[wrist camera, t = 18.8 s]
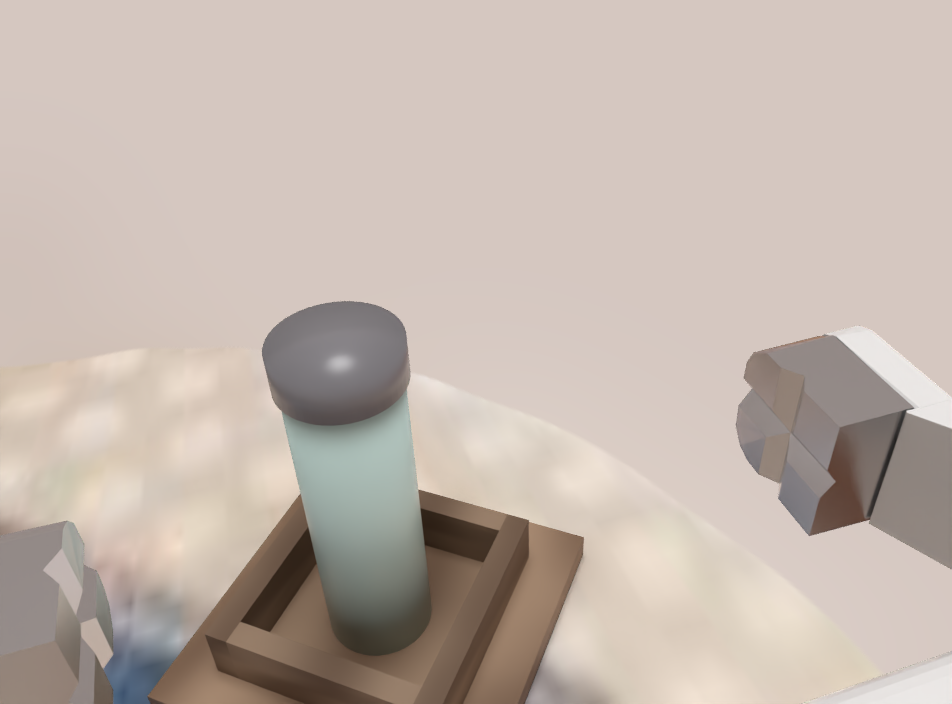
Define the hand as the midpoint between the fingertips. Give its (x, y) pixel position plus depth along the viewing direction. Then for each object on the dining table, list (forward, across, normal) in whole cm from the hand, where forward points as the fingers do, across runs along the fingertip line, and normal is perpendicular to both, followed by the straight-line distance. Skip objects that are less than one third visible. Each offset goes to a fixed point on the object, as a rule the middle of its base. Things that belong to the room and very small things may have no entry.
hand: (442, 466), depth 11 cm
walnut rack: (+17, -1, +26) cm, 31 cm away
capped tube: (+17, 0, +25) cm, 30 cm away
